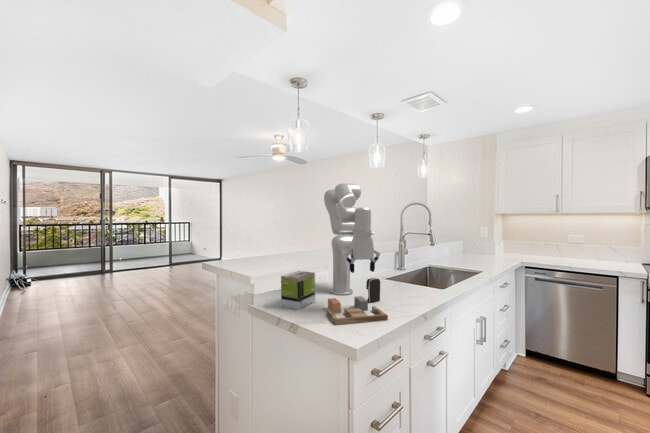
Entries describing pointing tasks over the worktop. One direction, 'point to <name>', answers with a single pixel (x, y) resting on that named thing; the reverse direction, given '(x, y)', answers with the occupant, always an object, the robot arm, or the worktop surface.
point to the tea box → (297, 289)
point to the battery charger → (373, 289)
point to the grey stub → (361, 303)
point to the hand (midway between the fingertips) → (362, 271)
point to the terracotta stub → (334, 305)
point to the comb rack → (357, 316)
